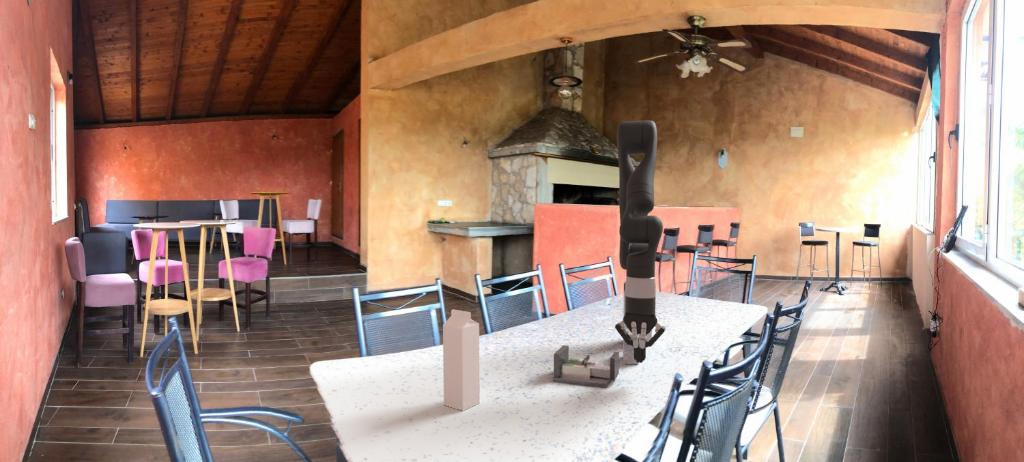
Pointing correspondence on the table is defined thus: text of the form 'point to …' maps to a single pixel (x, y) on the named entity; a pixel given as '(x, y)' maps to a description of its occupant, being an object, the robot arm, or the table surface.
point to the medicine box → (628, 352)
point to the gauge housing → (575, 370)
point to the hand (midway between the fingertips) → (639, 361)
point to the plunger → (604, 367)
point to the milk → (461, 361)
